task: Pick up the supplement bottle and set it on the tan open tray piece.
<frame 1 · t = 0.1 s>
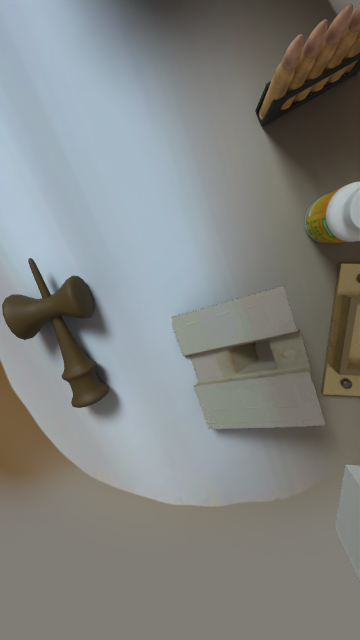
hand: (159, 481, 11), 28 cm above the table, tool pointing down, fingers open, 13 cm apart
ammunition clip: (304, 93, 31), on the table
grey angular piece: (234, 353, 39), on the table
kendama: (73, 327, 40), on the table
supplement bottle: (326, 219, 34), on the table
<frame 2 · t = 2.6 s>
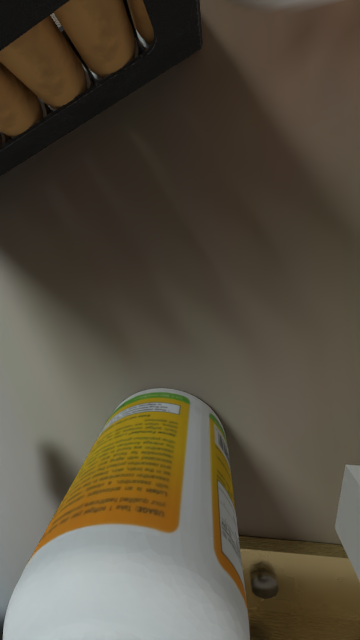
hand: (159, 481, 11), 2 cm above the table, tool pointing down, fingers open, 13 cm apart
ammunition clip: (56, 110, 10), on the table
supplement bottle: (166, 436, 13), on the table
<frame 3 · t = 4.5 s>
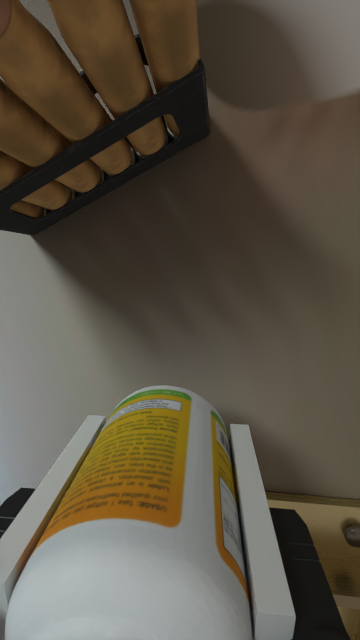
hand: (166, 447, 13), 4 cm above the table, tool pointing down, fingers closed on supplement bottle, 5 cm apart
ammunition clip: (108, 172, 15), on the table
tan open tray piece: (290, 604, 19), on the table
supplement bottle: (167, 434, 13), point 4 cm above the table, touching gripper
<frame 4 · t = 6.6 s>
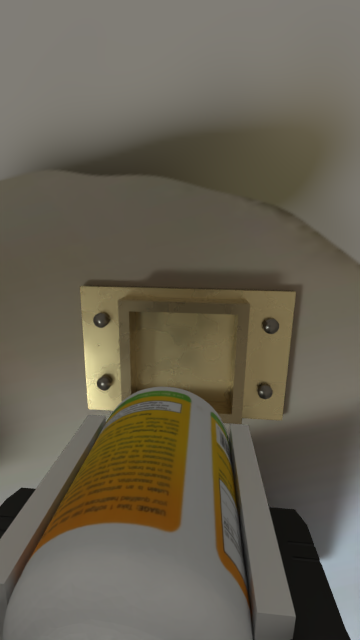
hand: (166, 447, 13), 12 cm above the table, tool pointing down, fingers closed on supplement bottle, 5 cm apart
tan open tray piece: (184, 352, 24), on the table
supplement bottle: (167, 435, 13), point 12 cm above the table, touching gripper
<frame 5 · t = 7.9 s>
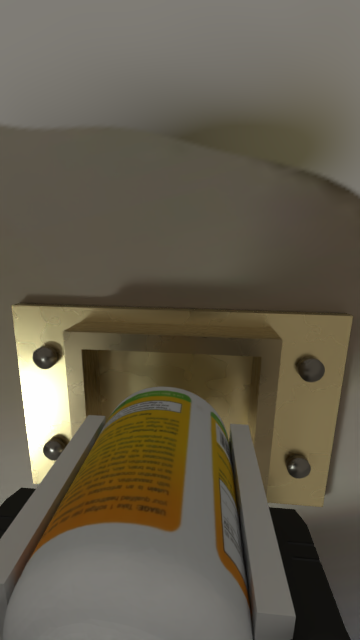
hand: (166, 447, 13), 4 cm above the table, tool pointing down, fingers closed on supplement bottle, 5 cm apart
tan open tray piece: (174, 404, 16), on the table
supplement bottle: (167, 435, 13), point 3 cm above the table, touching gripper
when the fingers open (3 cm above the table, at t = 8.8 s): supplement bottle drops 2 cm, resting on tan open tray piece.
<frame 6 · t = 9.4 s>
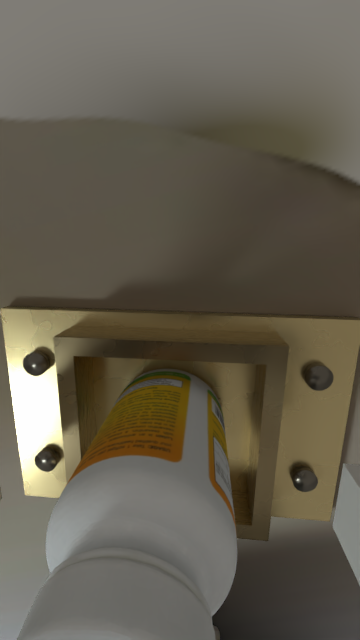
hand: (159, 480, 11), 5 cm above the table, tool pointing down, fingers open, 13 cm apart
tan open tray piece: (173, 412, 15), on the table
supplement bottle: (170, 413, 15), resting on tan open tray piece
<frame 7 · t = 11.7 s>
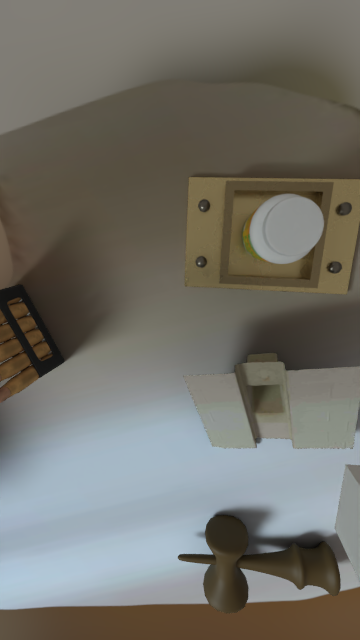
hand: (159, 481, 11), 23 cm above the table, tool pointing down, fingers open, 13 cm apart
ammunition clip: (39, 326, 36), on the table
tan open tray piece: (268, 236, 30), on the table
grey angular piece: (266, 393, 35), on the table
kendama: (251, 540, 40), on the table
supplement bottle: (267, 234, 30), resting on tan open tray piece
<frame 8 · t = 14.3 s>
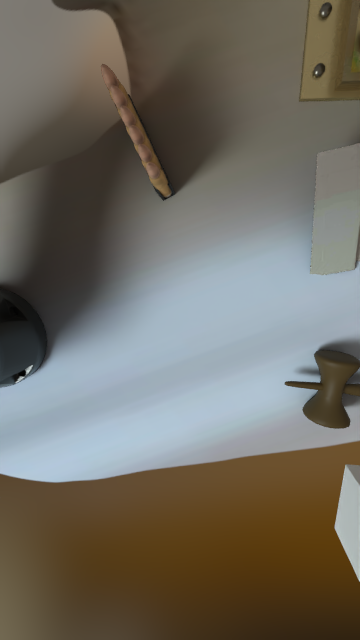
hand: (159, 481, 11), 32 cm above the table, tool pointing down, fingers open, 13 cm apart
ammunition clip: (151, 158, 37), on the table
kendama: (347, 380, 42), on the table
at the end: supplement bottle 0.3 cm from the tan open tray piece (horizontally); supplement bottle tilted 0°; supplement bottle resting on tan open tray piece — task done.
